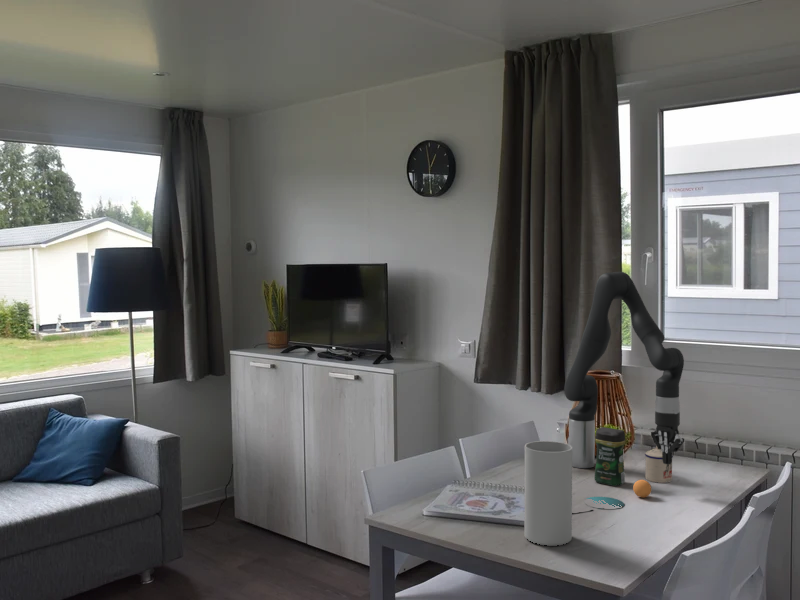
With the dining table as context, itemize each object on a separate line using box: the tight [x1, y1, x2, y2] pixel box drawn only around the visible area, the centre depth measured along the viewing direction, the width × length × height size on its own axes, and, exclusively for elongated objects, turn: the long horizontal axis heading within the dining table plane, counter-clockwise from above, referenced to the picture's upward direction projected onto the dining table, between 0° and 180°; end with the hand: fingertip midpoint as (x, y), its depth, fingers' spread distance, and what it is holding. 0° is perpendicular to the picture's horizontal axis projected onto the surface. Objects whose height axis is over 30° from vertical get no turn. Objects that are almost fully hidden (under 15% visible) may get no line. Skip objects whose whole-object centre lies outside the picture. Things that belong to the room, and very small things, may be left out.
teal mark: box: [586, 496, 625, 507], centre depth 228 cm, size 12×12×1 cm
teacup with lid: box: [644, 445, 674, 484], centre depth 255 cm, size 12×9×12 cm
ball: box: [632, 479, 652, 499], centre depth 234 cm, size 6×6×6 cm
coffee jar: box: [594, 426, 626, 487], centre depth 250 cm, size 10×8×19 cm
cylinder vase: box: [523, 440, 573, 547], centre depth 198 cm, size 12×12×25 cm
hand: (667, 463), depth 238 cm, fingers closed
